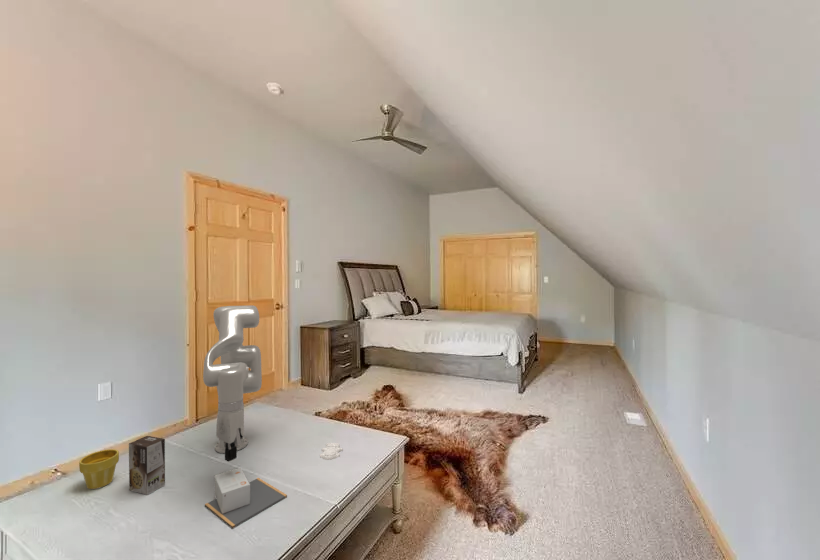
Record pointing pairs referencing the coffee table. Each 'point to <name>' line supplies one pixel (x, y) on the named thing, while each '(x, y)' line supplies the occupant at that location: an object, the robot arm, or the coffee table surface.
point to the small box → (231, 490)
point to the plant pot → (99, 468)
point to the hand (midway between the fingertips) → (230, 459)
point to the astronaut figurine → (331, 451)
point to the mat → (259, 501)
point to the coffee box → (146, 464)
